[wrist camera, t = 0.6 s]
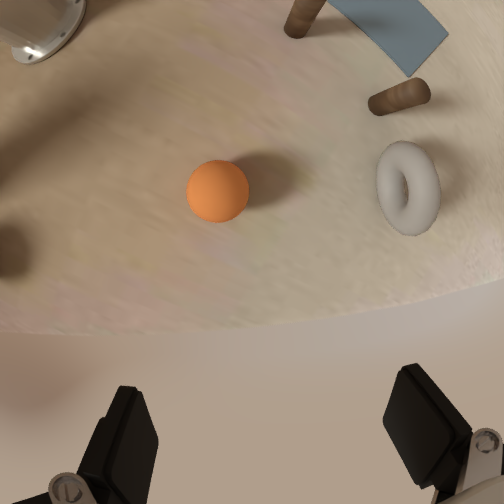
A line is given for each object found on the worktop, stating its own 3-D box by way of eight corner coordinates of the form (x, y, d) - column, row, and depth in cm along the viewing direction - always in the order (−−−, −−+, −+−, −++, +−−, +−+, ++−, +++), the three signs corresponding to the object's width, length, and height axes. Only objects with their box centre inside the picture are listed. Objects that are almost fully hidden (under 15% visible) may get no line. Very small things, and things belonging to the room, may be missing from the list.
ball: (179, 193, 30) (167, 198, 24) (216, 149, 29) (212, 144, 24) (222, 228, 32) (220, 241, 26) (259, 186, 31) (265, 190, 25)
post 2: (363, 104, 29) (404, 86, 20) (375, 91, 28) (417, 72, 20) (378, 120, 29) (422, 108, 21) (390, 107, 29) (434, 93, 20)
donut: (397, 224, 33) (447, 244, 23) (374, 227, 33) (421, 250, 23) (391, 142, 30) (443, 138, 21) (366, 143, 30) (415, 137, 20)
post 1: (279, 29, 26) (294, -11, 17) (293, 17, 25) (312, -22, 17) (296, 42, 26) (317, 5, 18) (310, 30, 26) (334, -7, 17)
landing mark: (327, 1, 25) (327, 0, 24) (380, -32, 22) (380, -33, 22) (408, 77, 28) (409, 77, 28) (447, 33, 26) (448, 33, 25)
